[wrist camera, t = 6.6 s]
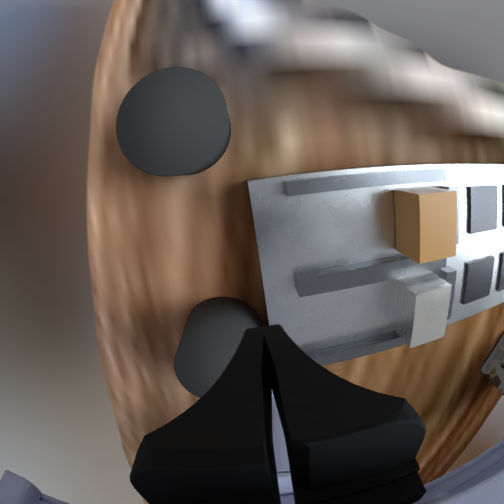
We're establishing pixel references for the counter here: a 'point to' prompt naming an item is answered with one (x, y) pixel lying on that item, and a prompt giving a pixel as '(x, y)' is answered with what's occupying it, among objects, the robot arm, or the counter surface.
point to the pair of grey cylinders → (185, 163)
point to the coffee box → (496, 366)
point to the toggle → (426, 223)
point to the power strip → (373, 256)
